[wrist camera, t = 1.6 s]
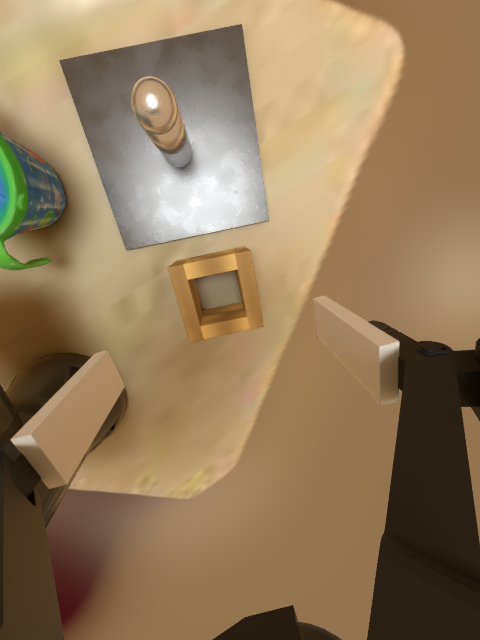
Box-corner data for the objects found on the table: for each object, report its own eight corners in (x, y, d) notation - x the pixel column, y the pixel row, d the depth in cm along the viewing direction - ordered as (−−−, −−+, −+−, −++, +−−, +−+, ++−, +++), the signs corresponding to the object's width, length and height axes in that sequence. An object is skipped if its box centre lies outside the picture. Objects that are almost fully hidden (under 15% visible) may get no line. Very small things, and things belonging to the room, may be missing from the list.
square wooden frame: (194, 323, 34) (189, 342, 29) (176, 260, 31) (167, 267, 26) (256, 310, 35) (263, 326, 29) (244, 246, 31) (250, 250, 26)
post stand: (127, 249, 30) (73, 261, 19) (62, 63, 24) (-78, -86, 13) (268, 220, 30) (297, 215, 19) (241, 28, 24) (261, -151, 13)
